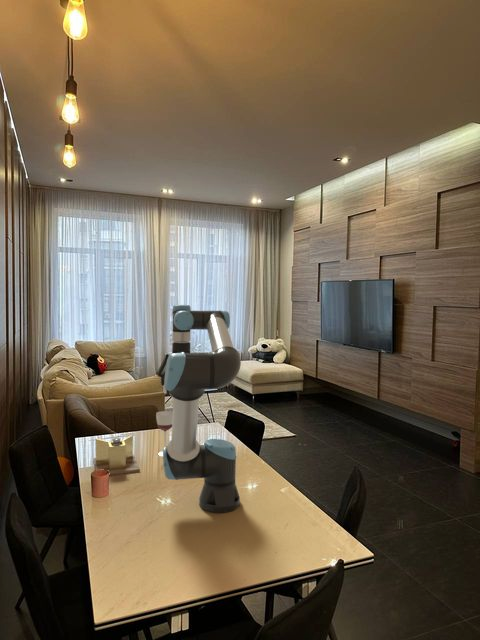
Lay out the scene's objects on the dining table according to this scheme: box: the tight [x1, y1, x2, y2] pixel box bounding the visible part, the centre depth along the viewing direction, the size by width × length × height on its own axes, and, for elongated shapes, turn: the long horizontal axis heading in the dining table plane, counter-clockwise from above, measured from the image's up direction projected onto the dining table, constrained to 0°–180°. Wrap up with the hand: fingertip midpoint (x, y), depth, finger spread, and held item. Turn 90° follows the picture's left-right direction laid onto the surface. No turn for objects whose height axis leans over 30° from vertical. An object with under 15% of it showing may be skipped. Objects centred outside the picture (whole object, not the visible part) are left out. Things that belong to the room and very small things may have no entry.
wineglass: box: [155, 410, 173, 457], centre depth 216 cm, size 8×9×20 cm
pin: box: [112, 437, 121, 446], centre depth 197 cm, size 3×3×12 cm
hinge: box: [95, 434, 134, 469], centre depth 200 cm, size 13×17×10 cm
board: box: [93, 454, 141, 476], centre depth 200 cm, size 20×18×1 cm
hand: (180, 392), depth 187 cm, fingers open, 13 cm apart
